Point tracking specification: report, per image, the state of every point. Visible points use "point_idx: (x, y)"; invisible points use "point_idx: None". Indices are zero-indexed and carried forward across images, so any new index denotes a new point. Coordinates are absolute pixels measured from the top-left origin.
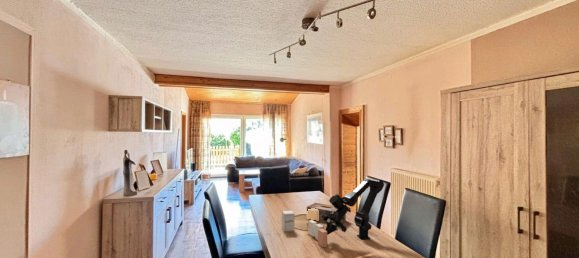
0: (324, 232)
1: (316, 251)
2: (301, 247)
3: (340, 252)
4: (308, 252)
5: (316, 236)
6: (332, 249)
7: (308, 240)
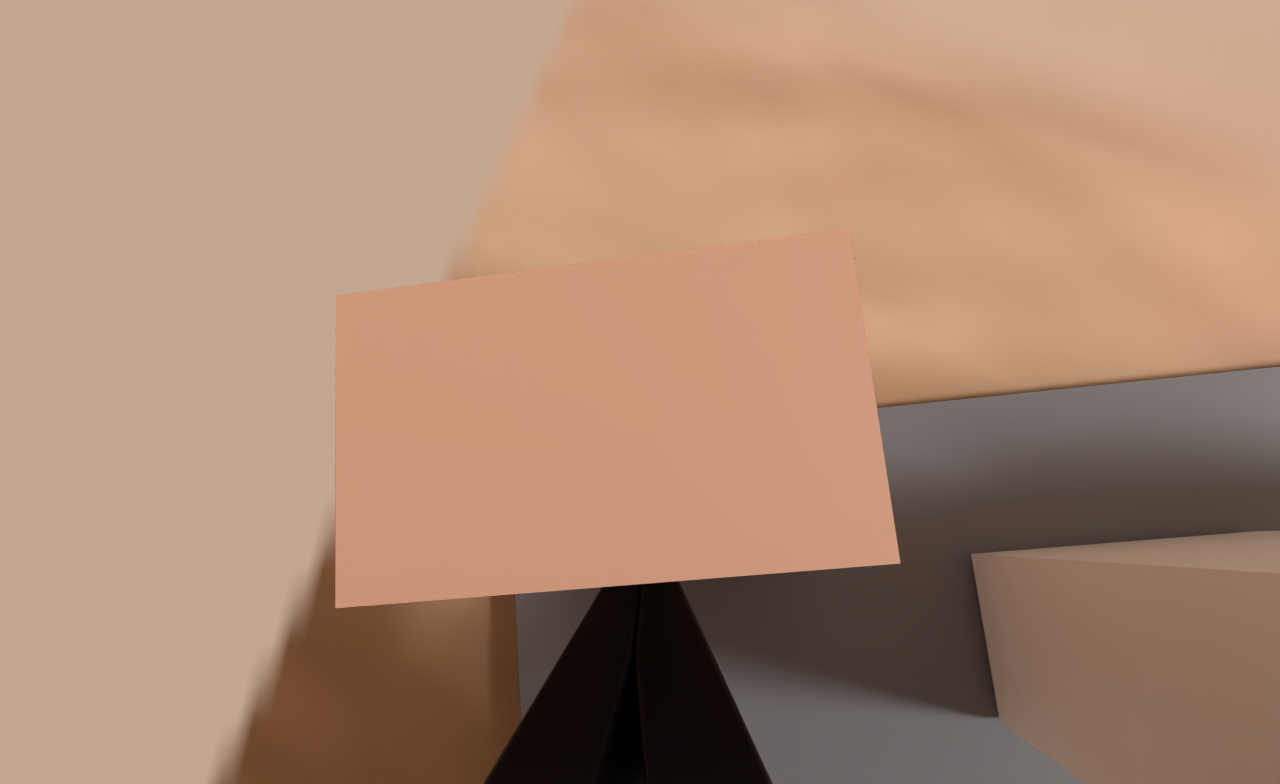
0: (351, 407)
1: (520, 236)
2: (844, 3)
3: (231, 753)
4: (548, 59)
5: (1231, 538)
6: (452, 659)
7: (1238, 325)
